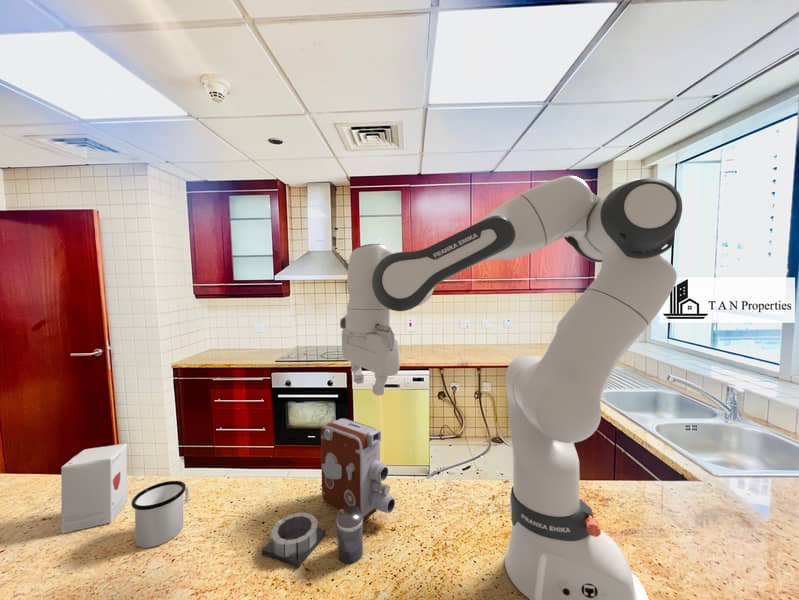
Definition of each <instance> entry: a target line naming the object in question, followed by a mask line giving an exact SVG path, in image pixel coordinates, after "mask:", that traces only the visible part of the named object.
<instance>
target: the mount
mask: <svg viewBox="0 0 799 600" xmlns="http://www.w3.org/2000/svg"><path fill="white" fill-rule="evenodd" d="M318 523H319V520H318V519H317V517H315V516H314V514H311V513H308V512H304V511H303V512H294V513H291V514H289V515H286V516H285V517H282V518H281V519H279V520H277V523H275V524H274V526H273V527H272V530H271V532H270V541H269V542H268V543H267V544H265V546H264V547H262V549H261V555H262V556H265V557H268V558H271V559H273V560H276V561H278V562H281V563H283V564H286V565H289V566H291V567H294V568H297V569H299V568H300V567H301V566H302V564H303V563H304V562H305V561H306V559H307V558H308V557H309V556H310V555H311V554H312V552H313V551H314V550H315V549H316V548H317V546H318V545H319V544H320V543H321V542H322V540H323V539H324V538H325V537H326V536H327V530H326V529H323V528H320V527H319V524H318Z"/></svg>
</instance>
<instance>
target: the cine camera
mask: <svg viewBox="0 0 799 600" xmlns="http://www.w3.org/2000/svg"><path fill="white" fill-rule="evenodd" d="M381 442H382V430H380V429H377V428H376V427H373V426H370V425H367V424H364V423H361V422H358V421H354V420H351V419H349V418H346V417H345V418H343V417H342V418H339V419H337V420H336V419H333V420H332V422H330V423H327V424H324V425H323V426H322V428H321V430H320V445H321V446H320V450H321V454H320V455H321V464H320V465H321V497H322V500H323V501H324V503H325V504H327V505H328V506H329V507H331V508H333V509H335V510H336V511H337V512H339V510H340V509H342V508H344V507H347V506H357V507H359V508H360V509H361V510H362V516H363V521H364V520H365V519H367V518H368V517H369V516H370V515H371V514H372V513H374V512H375V511H376V510H378V511H380V512H383V513H385V514H391V513H392V512H393V510H394V508H395V505H396V499H395V498H394V497H393V496H391V494H389V492H390V488H391V487H390V485H388V484H386V483H383V481H385V480H386V479H387V477H388V474H389V468H388V467H387V464H386V463H384V462H381V449H380V448H381Z"/></svg>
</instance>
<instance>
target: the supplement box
mask: <svg viewBox="0 0 799 600" xmlns="http://www.w3.org/2000/svg"><path fill="white" fill-rule="evenodd" d="M60 468H61V470H60V471H61V472H60V475H61V476H60V477H61V483H60V484H61V494H60V495H61V534H66V533H71V532H76V531H81V530H85V528H86V529H89V528H90V529H91V528H95V527H98V525H99V526H104V525H108V524H107V523H109V524H111V522H113V521H114V520H115V519H116V517H117V516H118V515H119V513H120V512H121V511H122V509H123V508H124V507H125V505H126V504H127V502H128V444H127V443H120V444H113V445H107V446H99V447H92V448H86V449H83V450H81V451H80V452H79V453H78V454H76V455H74V456H73V457H72V458H71V459H69V461H68V462H65V464H64V465H62V466H61V467H60ZM125 503H126V504H125ZM123 506H124V507H123ZM120 510H121V511H120ZM117 514H118V515H117ZM114 518H115V519H114ZM103 524H104V525H103ZM94 526H95V527H94Z"/></svg>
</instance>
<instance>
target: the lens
mask: <svg viewBox="0 0 799 600" xmlns="http://www.w3.org/2000/svg"><path fill="white" fill-rule="evenodd" d="M336 514H337V515H336V531H337V532H336V533H337V534H336V535H337V539H336V540H337V542H336V543H337V544H336V545H337V559H338V561H339V562H340V563H341V564H344V565H353V564H356V563H358V562H359V561H360V560H361V559H362V557H363V555H364V544H363V543H364V541H363V540H364V538H363V533H364V532H363V531H364V529H363V527H364V526H363V524H364V520H363V516H362V510H361V509H360V508H359V507H357V506H347V507H344V508H342V509H340V510H339V511H337V513H336Z"/></svg>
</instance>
